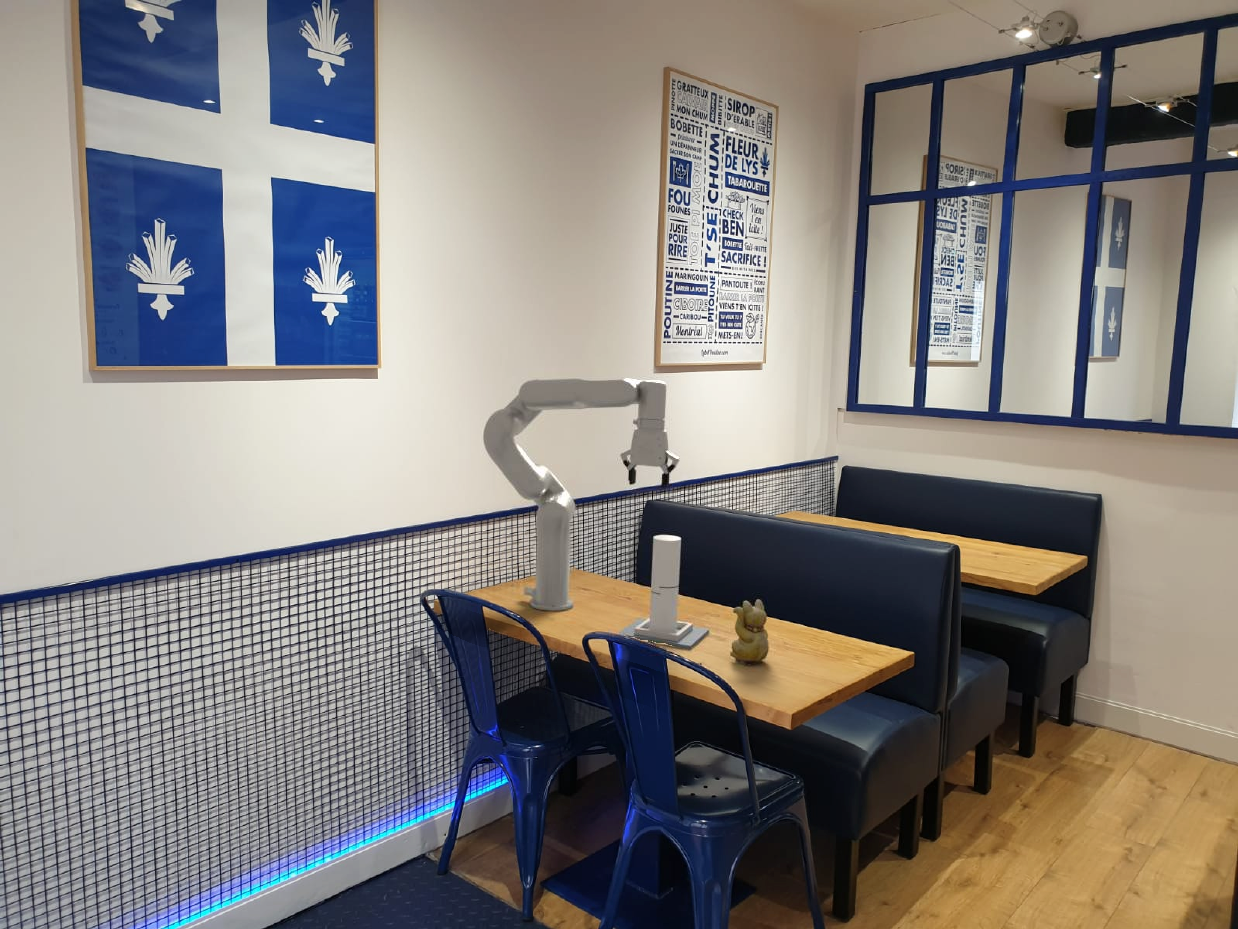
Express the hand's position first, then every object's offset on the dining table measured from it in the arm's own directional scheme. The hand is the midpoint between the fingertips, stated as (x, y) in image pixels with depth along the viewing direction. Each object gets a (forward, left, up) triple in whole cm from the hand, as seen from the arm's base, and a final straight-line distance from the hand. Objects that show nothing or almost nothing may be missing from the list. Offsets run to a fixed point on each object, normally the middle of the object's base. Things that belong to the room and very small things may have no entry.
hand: (648, 485), depth 264 cm
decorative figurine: (+39, -27, -36) cm, 60 cm away
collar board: (+13, -18, -36) cm, 43 cm away
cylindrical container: (+13, -18, -36) cm, 42 cm away
